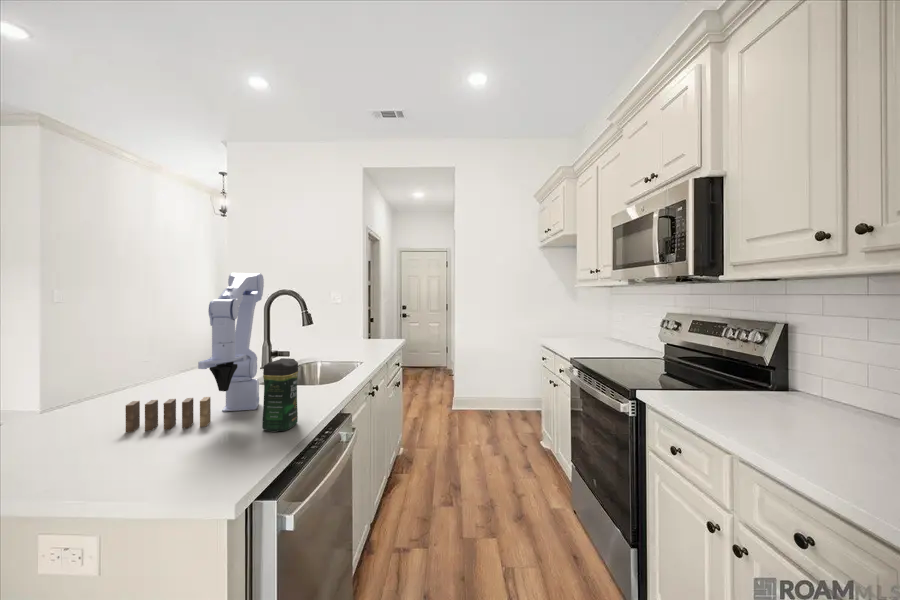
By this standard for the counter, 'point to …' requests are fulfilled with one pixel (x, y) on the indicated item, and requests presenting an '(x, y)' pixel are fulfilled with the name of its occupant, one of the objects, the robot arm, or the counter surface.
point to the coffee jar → (280, 395)
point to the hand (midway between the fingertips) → (223, 390)
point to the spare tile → (205, 412)
